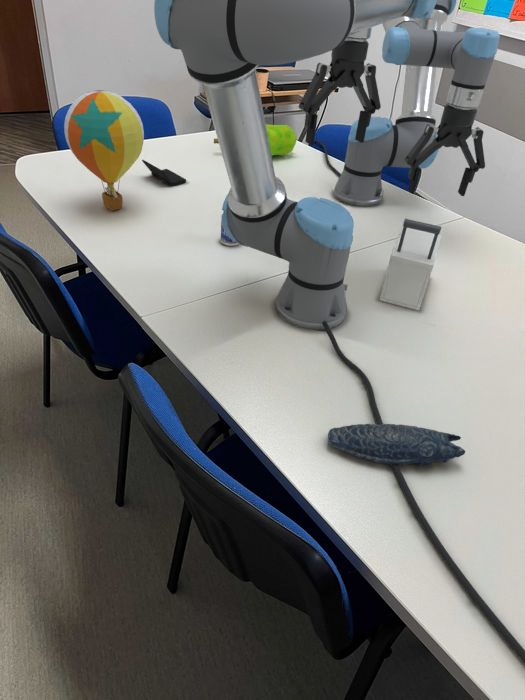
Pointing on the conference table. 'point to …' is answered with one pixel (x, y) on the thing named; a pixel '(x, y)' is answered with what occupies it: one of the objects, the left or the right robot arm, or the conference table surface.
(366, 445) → the fish model
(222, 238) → the pill bottle
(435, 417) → the conference table surface
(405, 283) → the chest
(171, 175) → the black block with spike
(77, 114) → the toy
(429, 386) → the conference table surface
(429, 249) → the lid
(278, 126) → the decorative tree
